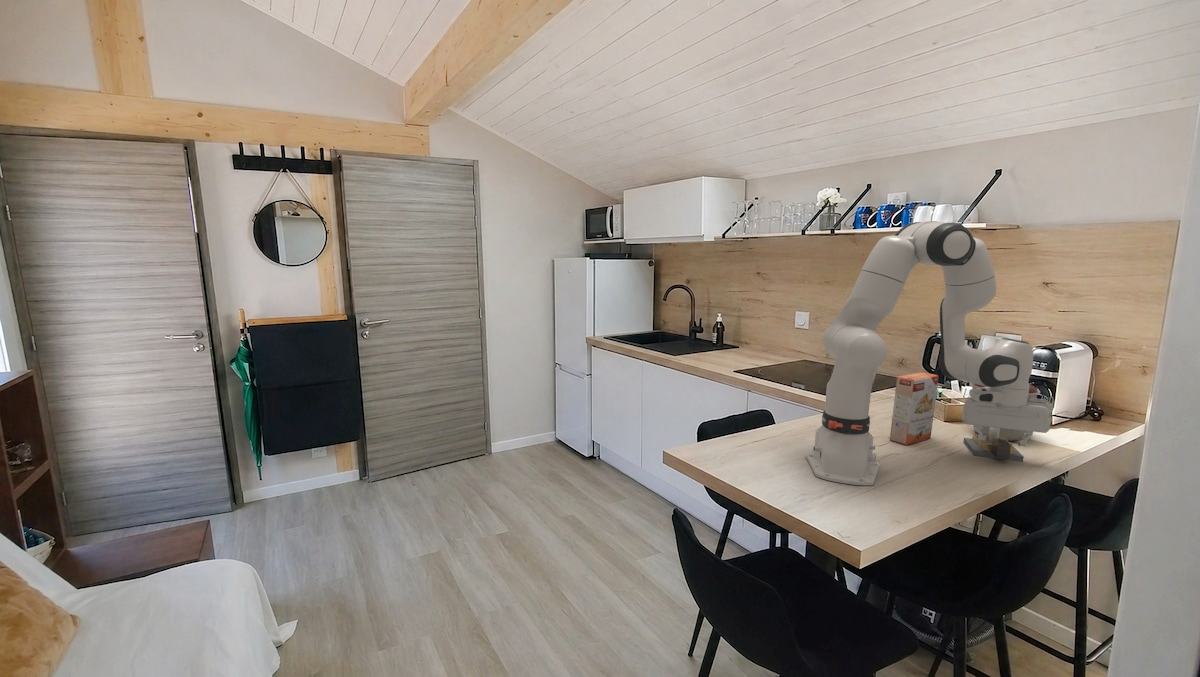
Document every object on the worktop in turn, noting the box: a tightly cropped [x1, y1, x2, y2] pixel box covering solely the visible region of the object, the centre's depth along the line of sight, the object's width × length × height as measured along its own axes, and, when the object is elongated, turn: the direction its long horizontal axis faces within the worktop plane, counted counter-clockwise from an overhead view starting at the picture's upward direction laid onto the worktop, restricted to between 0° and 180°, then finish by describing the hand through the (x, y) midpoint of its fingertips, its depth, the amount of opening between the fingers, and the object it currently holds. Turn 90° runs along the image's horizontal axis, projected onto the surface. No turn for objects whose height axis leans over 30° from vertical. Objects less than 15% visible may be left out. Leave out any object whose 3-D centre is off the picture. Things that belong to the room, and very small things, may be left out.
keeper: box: [963, 427, 1024, 462], centre depth 160 cm, size 12×12×12 cm
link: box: [971, 433, 1016, 460], centre depth 158 cm, size 15×8×4 cm, turn 158°
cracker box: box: [889, 371, 940, 446], centre depth 169 cm, size 14×6×21 cm, turn 121°
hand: (1001, 442), depth 154 cm, fingers open, 8 cm apart
